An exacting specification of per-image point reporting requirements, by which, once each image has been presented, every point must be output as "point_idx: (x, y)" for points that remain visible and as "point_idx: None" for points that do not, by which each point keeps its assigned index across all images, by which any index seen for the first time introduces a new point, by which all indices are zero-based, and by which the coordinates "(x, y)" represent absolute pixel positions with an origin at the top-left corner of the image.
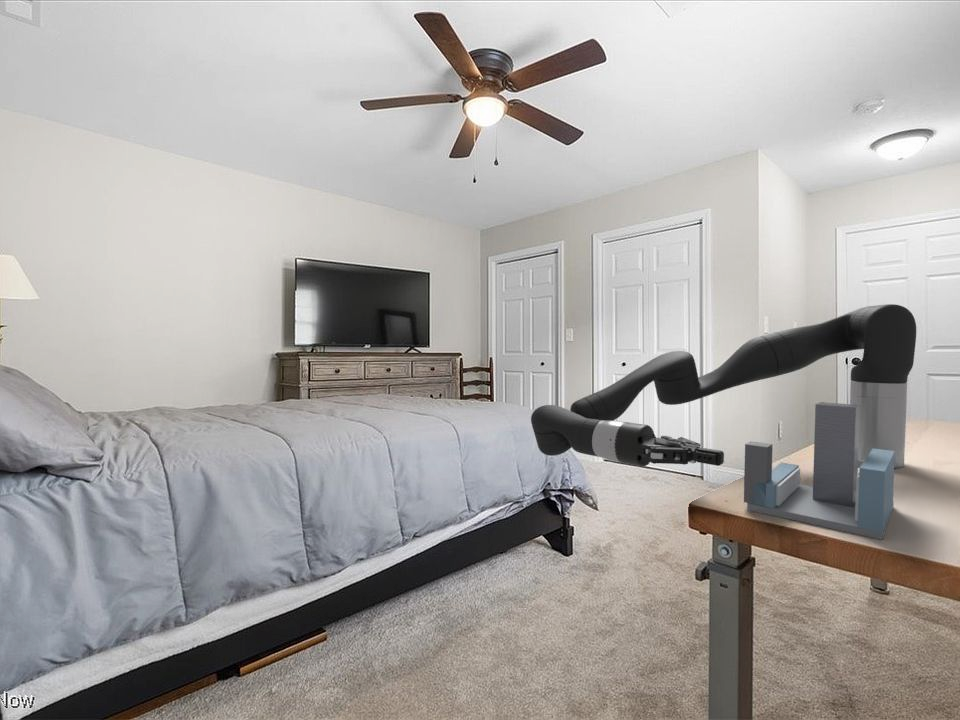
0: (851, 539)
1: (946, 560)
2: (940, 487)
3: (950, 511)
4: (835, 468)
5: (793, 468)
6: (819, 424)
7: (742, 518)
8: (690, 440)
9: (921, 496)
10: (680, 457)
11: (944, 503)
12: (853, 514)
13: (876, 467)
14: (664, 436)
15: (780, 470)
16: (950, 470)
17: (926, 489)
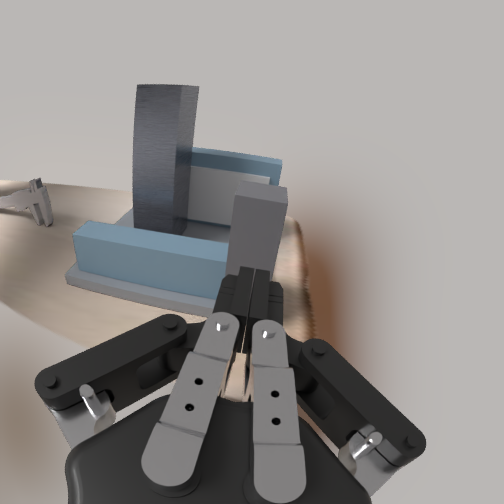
0: (289, 247)
1: (285, 216)
2: (53, 186)
3: (132, 192)
4: (183, 186)
5: (117, 226)
6: (180, 120)
7: (315, 329)
8: (97, 347)
9: (86, 195)
10: (318, 383)
11: (106, 190)
12: (219, 230)
13: (264, 158)
14: (168, 462)
15: (142, 238)
16: (4, 180)
17: (61, 191)
